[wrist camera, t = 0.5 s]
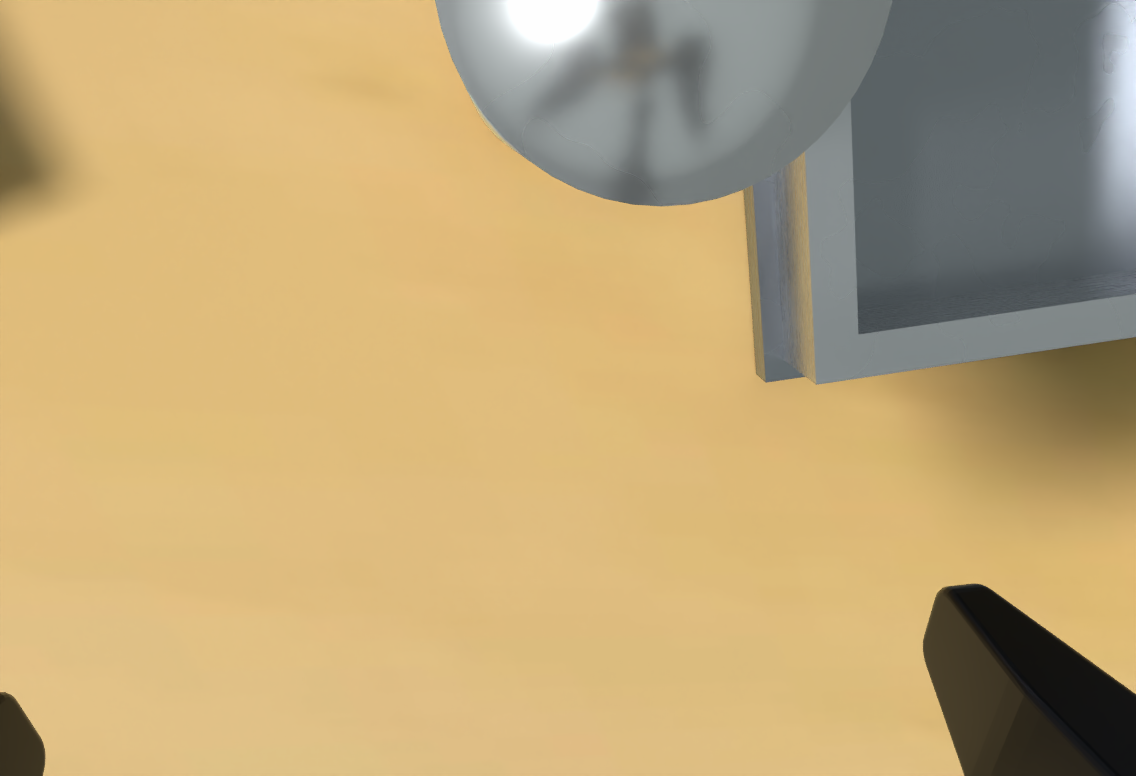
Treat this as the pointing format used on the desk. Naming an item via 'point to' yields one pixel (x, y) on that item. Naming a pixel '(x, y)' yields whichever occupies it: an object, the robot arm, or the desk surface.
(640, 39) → the silver metal cylinder
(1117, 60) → the square metal tray
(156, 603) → the desk surface
